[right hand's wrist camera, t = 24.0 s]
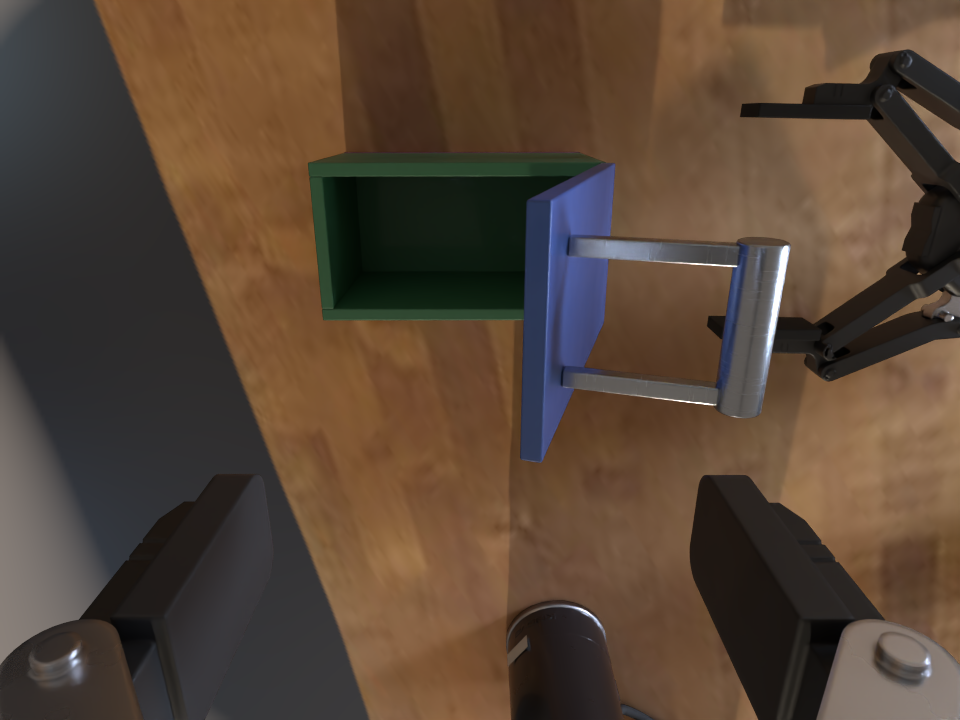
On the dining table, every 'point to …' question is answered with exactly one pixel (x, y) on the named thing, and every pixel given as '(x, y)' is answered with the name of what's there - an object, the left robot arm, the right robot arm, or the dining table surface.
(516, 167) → the chest
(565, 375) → the lid
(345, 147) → the dining table surface
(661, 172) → the dining table surface
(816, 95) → the left robot arm
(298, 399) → the dining table surface
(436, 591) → the dining table surface
